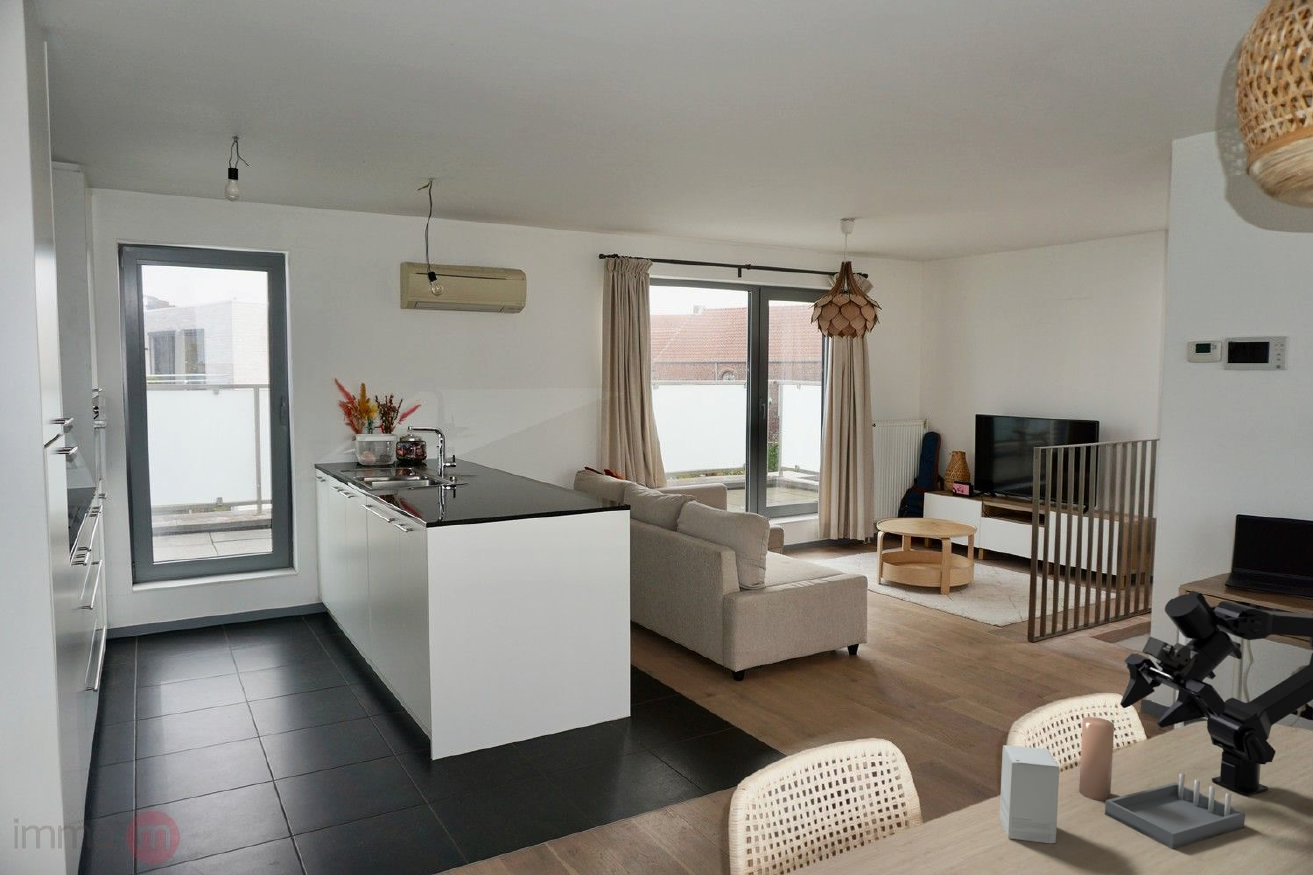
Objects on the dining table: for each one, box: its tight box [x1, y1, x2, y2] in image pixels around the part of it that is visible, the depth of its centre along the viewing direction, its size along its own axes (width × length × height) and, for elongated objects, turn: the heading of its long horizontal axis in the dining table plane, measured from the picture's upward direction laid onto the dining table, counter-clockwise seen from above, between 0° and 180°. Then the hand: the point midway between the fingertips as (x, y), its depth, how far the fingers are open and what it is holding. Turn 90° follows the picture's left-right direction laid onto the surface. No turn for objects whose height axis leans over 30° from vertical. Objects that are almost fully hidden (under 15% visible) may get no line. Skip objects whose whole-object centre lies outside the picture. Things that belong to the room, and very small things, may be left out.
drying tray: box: [1104, 772, 1246, 850], centre depth 145 cm, size 18×12×5 cm, turn 114°
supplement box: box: [999, 744, 1060, 844], centre depth 141 cm, size 7×7×13 cm
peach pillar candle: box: [1078, 716, 1115, 801], centre depth 154 cm, size 5×5×13 cm
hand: (1140, 715), depth 154 cm, fingers open, 9 cm apart
